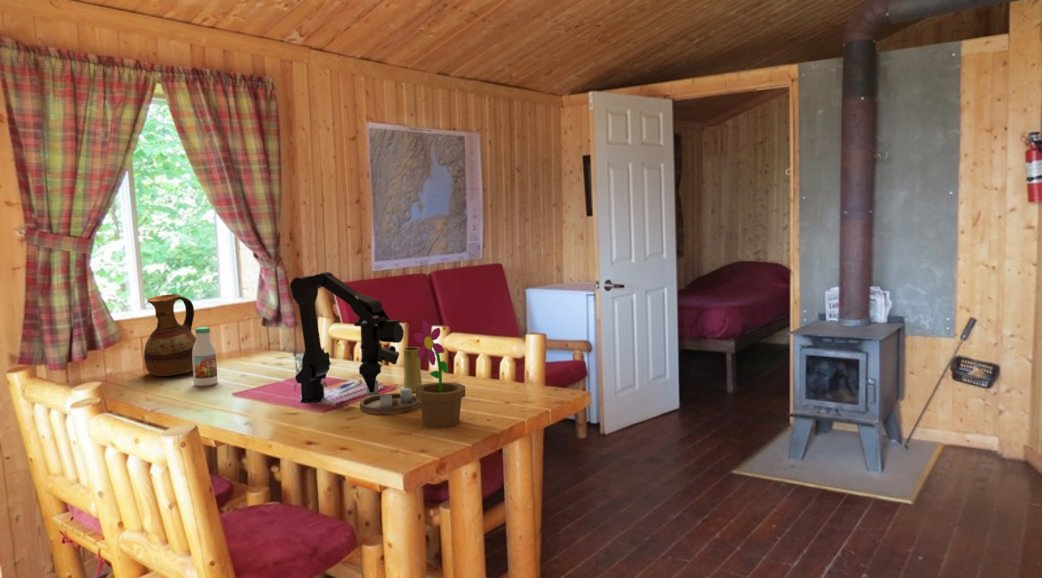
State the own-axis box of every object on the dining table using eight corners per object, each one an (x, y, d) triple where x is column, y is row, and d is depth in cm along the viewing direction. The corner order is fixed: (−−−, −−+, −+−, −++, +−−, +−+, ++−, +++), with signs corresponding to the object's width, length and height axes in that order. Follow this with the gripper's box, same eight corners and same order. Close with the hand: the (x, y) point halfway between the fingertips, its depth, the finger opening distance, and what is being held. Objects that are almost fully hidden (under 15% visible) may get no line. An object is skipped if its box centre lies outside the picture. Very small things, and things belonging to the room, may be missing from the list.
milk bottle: (189, 385, 268) (185, 329, 265) (205, 380, 275) (202, 325, 273) (206, 387, 265) (202, 330, 263) (222, 382, 272) (219, 326, 270)
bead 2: (380, 411, 230) (379, 398, 229) (380, 407, 233) (380, 395, 233) (392, 410, 231) (392, 397, 230) (392, 407, 234) (392, 394, 234)
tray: (357, 416, 227) (357, 410, 227) (361, 400, 245) (361, 394, 245) (420, 413, 229) (420, 407, 229) (419, 397, 248) (419, 392, 247)
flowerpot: (405, 424, 218) (402, 319, 215) (442, 413, 229) (440, 313, 225) (439, 434, 209) (437, 325, 205) (477, 422, 219) (475, 318, 216)
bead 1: (366, 395, 235) (365, 382, 235) (366, 392, 239) (366, 380, 238) (378, 395, 236) (377, 382, 235) (378, 392, 239) (378, 379, 239)
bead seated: (400, 404, 238) (400, 391, 237) (400, 401, 241) (400, 388, 241) (412, 403, 238) (411, 390, 238) (412, 400, 242) (411, 388, 241)
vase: (418, 393, 253) (417, 350, 252) (401, 392, 255) (399, 349, 253) (424, 388, 259) (423, 346, 258) (407, 387, 260) (406, 346, 259)
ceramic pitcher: (134, 376, 284) (128, 295, 281) (183, 365, 301) (178, 289, 298) (166, 382, 274) (161, 298, 270) (215, 370, 291) (210, 292, 287)
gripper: (396, 345, 227) (398, 397, 229) (397, 334, 245) (399, 382, 247) (358, 346, 225) (360, 398, 227) (362, 335, 244) (364, 384, 246)
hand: (372, 390), depth 237 cm, fingers closed on bead 1, 4 cm apart
